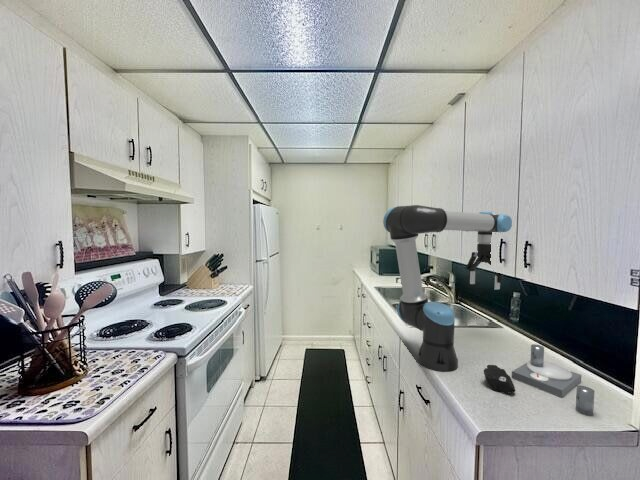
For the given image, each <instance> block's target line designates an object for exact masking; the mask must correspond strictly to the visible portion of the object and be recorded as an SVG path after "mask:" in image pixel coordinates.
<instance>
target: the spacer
mask: <svg viewBox="0 0 640 480" xmlns="http://www.w3.org/2000/svg"><path fill="white" fill-rule="evenodd" d="M544 359H545V347H544V346H543V345H540V344H534V343H533V344H531V345H530V360H529V361H530V364H531V365H533V366H535V367H543V365H544Z"/></svg>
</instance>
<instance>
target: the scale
mask: <svg viewBox="0 0 640 480" xmlns="http://www.w3.org/2000/svg"><path fill="white" fill-rule="evenodd" d="M511 379H513V380H515V381H518V382H520V383H523V384H526V385H528V386H531V387H533V388H536V389H538V390H541V391H544V392H546V393H549V394H551V395H554V396H556V397H559V398H560V399H562V398H563V397H565V396H566V395H567V394H569V393H570V392H571V391H573V389H574V388H575V387H577V386H579V384H580V383H581V382H582V374H580V373H577V372H575V371H572V370H569V369H567V368H565V367H564V366H562V365H560V364H557V363H553V362H549V361H544V365H543V367H535V366H533V365H531V364H530V360H529V361H528V362H525V363H524V364H522V365H521V366H518V367H516V368H515V369H513V370H512V371H511Z"/></svg>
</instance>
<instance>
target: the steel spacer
mask: <svg viewBox="0 0 640 480" xmlns="http://www.w3.org/2000/svg"><path fill="white" fill-rule="evenodd" d="M575 395H576V396H575V411H577V413H579V414H581V415H583V416H587V417H591V416H592V417H593V416H594V408H595V389H593V388H591V387H588V386H586V385H576V393H575Z"/></svg>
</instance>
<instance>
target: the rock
mask: <svg viewBox="0 0 640 480" xmlns="http://www.w3.org/2000/svg"><path fill="white" fill-rule="evenodd" d="M483 374H484V378H485V380H486V382H487V384H488V386H489V387H490V389H492V391H495V392H501V393H503V394H512V393H515V392H516V387H515V384H514V382H513V380H512V377H511V376H510V375H509V374H508V373H507V372H506V370H505V369H504V368H501V367H498V366H497V365H496V364H488V365H487V366H486V368H484V369H483Z"/></svg>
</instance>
